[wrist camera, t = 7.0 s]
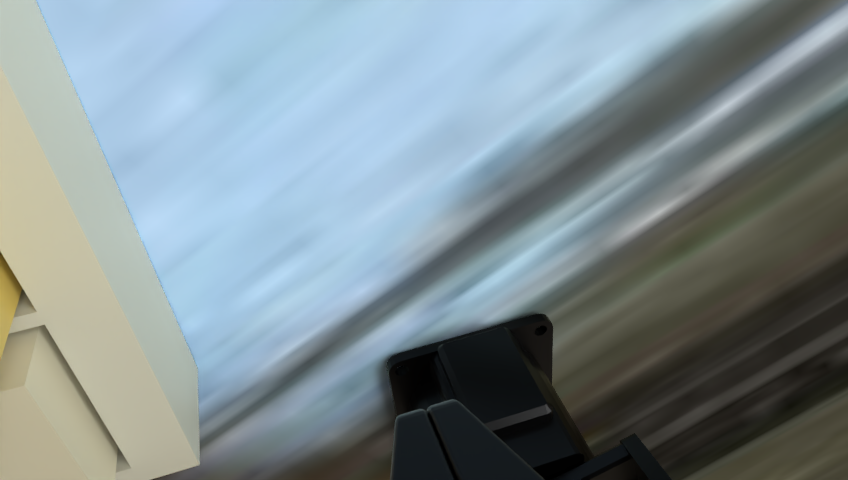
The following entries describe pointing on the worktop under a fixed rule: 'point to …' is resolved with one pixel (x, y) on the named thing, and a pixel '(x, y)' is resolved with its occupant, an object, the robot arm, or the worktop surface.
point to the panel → (87, 259)
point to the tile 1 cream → (48, 416)
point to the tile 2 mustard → (7, 300)
